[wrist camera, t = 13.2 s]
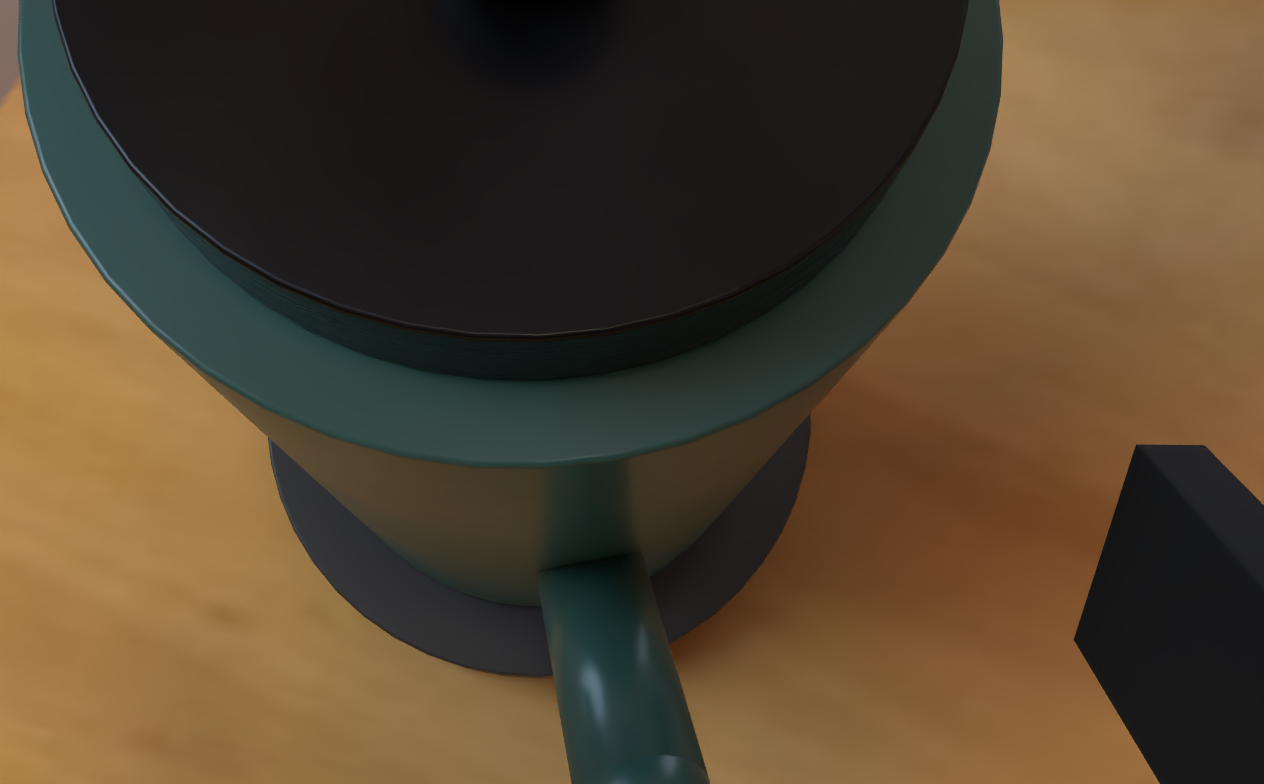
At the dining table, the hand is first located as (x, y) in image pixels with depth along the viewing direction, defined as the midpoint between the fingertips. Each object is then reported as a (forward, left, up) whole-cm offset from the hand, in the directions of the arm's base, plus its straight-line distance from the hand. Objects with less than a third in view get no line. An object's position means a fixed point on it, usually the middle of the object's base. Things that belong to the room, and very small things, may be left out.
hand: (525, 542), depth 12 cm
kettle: (0, -6, -13) cm, 14 cm away
